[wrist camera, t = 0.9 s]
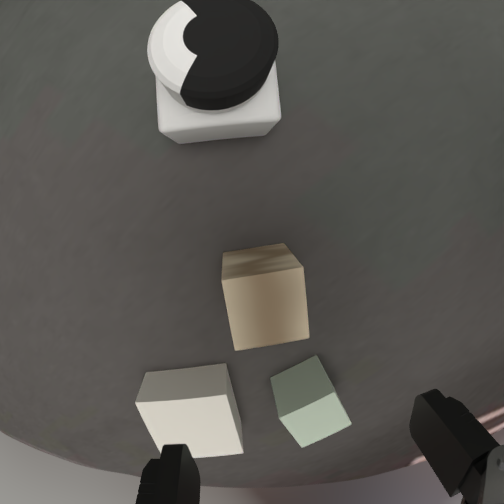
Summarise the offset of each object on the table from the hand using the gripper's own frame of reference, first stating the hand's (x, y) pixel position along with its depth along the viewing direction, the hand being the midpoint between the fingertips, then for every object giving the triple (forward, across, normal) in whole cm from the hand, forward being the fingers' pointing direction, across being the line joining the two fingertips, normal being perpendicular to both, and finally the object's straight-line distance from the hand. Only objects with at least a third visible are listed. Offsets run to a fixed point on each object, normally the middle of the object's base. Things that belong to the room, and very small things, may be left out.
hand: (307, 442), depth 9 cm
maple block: (+18, 0, 0) cm, 18 cm away
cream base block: (+18, +8, +12) cm, 23 cm away
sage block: (+18, -3, +12) cm, 22 cm away
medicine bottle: (+18, +1, -15) cm, 24 cm away
